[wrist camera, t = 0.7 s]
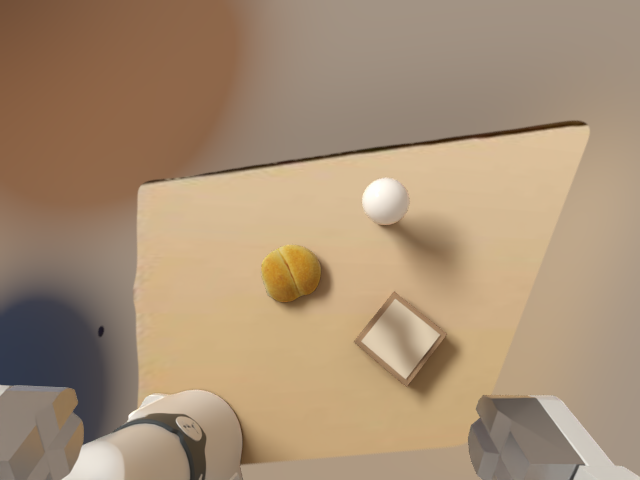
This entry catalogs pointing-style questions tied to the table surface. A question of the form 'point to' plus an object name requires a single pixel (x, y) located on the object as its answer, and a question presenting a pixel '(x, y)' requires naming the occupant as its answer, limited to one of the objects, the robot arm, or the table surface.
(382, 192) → the lightbulb
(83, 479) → the robot arm
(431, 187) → the table surface
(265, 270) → the bread roll
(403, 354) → the picture frame
